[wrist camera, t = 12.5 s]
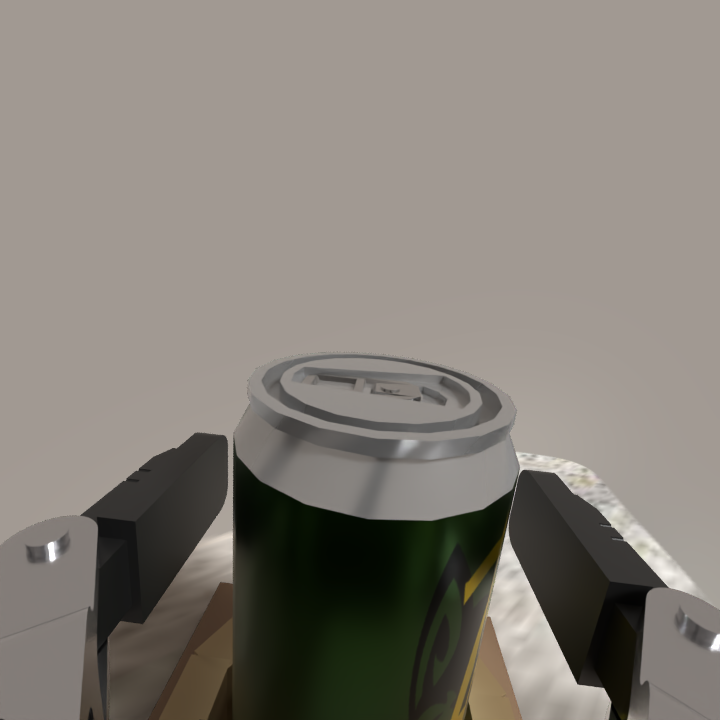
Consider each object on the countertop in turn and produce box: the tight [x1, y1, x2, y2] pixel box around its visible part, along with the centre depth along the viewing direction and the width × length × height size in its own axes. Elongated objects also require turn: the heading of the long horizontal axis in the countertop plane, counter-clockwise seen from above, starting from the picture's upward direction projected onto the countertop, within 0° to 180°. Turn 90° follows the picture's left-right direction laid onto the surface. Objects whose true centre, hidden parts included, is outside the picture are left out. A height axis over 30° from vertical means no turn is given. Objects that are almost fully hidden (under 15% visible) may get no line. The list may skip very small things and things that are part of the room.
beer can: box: [232, 352, 520, 720], centre depth 8 cm, size 5×5×12 cm
